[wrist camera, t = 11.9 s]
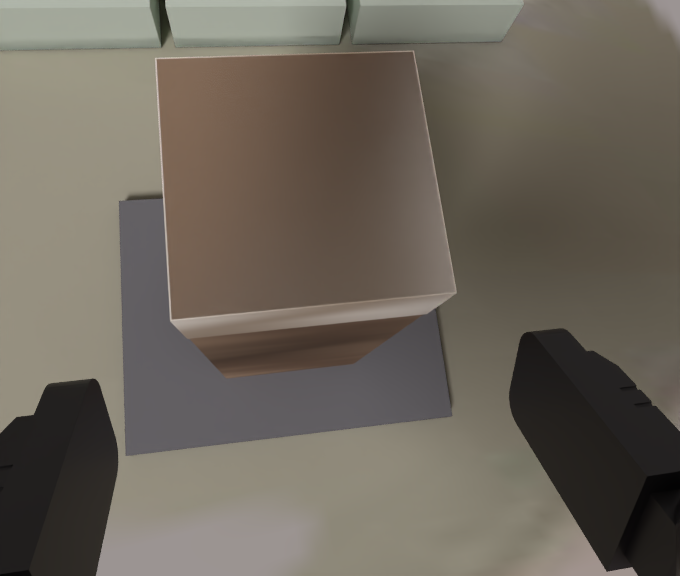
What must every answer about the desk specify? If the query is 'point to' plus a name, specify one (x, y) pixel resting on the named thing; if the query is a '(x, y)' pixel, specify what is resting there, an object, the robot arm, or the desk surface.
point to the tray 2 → (255, 22)
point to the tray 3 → (430, 20)
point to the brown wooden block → (298, 206)
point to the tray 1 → (79, 24)
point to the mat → (259, 390)
